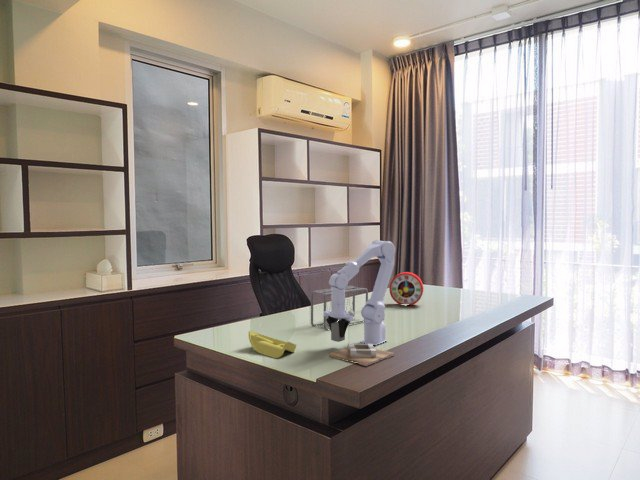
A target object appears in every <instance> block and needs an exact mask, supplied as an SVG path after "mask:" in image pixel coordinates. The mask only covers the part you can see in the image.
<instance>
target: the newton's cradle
mask: <svg viewBox="0 0 640 480" xmlns="http://www.w3.org/2000/svg"><path fill="white" fill-rule="evenodd" d="M360 291H365V302H366V301H367V300H369V290H368V288H366V287H357V286H354V285H349V286H348V285H347V287H345V294H347V297H350V295H349V294H350V293H352V303H350V300H347V302H346V304H348V303H349V304H348V305H350V304H351V305H352V308H349V310H348V309H347V308H348V306H345V314H348V315H351V316H353V317H354V318H355V315H356V313H355V311H356V292H360ZM315 294H322V295H324V296H323V312H324V311H330V312H331V308H329V310H328V309H327V304H328V302H327V297H328V296H331V288H325V289H316V290H313V291H312V292H311V294H310V324H311V326H312V327H313V326H316V325H320V326H318V328H320V327H321V329H323V330H324V331H329V330H328V329H330V327H329V326H328V327H327V324H326V323H327V321H326V319H327V318H328V316H323V322H319V323H316V324H315V323H314V295H315ZM329 304H330V306H331V302H330V303H329ZM347 310H348V311H347ZM338 320H341V319H338ZM363 321H364V319H362V321H359V320H357V321H354V322H353V321H352V322H350V323H349V324H354V323H359V322H363ZM321 324H324V325H323V326H322V325H321ZM349 324H348V325H349ZM359 324H360V323H359ZM316 327H317V326H316Z"/></svg>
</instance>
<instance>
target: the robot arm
mask: <svg viewBox="0 0 640 480" xmlns="http://www.w3.org/2000/svg"><path fill="white" fill-rule="evenodd" d="M395 253H396V246H395V245H394V243H393V242H392V241H389V240H384V241H383V240H380V239H379V240H377V239H376V240H374V241H371V243H369V244H368V246H367V248H366V249H365V250H364V251H362V253H360V255H359V256H357V258H356V259H355V260H354V261H349V262H346V263H345V265H344V266H343V267H342V268H341V269H340V270H338V271H337V272H336V273H333V274H332V275H331V276H330V278H329V280H328V284H329V286H330V289H331V291H330V292H331V295H330V297H331V299H330V303H331V305H330V311H329V310H328V311H327V310H326V311H324V310H323V315H322V317H324V316H328V318H327V319H326V321H327V323H328V324H327V325H328V328H329V327H330V330H329V331H331V323H334V322H337V321H338V319H341V320H339V321H338V324H339V329H340V337H341V338H342V337H344V336H345V337H346V332H347V330H348V329H347V328H348V327H349V326H348V324H349V323H352V322H353V321H354V319H353V316H351V315H348V314H345V311H346V293H345V291H346V289H345V287H347V286H348V284H349V282H350V281H351V280H352V279H353V278H354V277H355V276H356V275H358V273H359V272H360V268H361V267H362V266H364V265H365V264H366V263H367V262H368V261H370V260H372V258H374V257H376V258H377V259H378V260H379V262H380V266H379V270H378V273H377V276H376V279H375V282H374V285H373V289H372V293H371V295H370V298H368V300H367V301H366V300H365V304H364V305H363V307H362V309H361V311H360V312H361V313H360V314H361V316H362V317H361V318H363V320H364V327H363V329H364V330H363V331H364V332H363V335H364V336H363V340H360V341H359V343H360V342H361V343H360V344H364V343H366V344H373V345H376V346H378V345H377V344H379V345H381V344H380V343H382V344H384V343H386V342H385V341H387V342H388V340H386V330H387V328H386V327H387V326H386V325H385V322H383V321H384V320H385V318H386V317H385V311H386V306H385V304H384V300H385V296H386V293H387V290H388V286H389V283H390V279H391V277H392V273H393V270H394V268H395V267H394V266H395V262H396V260H395V255H396V254H395ZM383 342H384V343H383Z"/></svg>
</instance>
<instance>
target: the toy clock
mask: <svg viewBox="0 0 640 480" xmlns="http://www.w3.org/2000/svg"><path fill="white" fill-rule="evenodd" d="M389 283H390V285H389V288H388V289H389V294H390V297H391V298H392V300H393V301H394V302H395V303H396V304H398V305H400V304H409V305H411V306H414V305H415V304H417V303H418V302H419V301H420V299H421V298H422V296H423V295H424V294H423V293H424V284H423V281H422V279H421V278H420V277H419V275H417V274H415V273H413V272H410V271H404V272H400V273H398V274H396V275H395V276H394V277H393V279H391V281H390V282H389Z"/></svg>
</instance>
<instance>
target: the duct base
mask: <svg viewBox="0 0 640 480" xmlns="http://www.w3.org/2000/svg"><path fill="white" fill-rule="evenodd" d="M394 353H395V352H390V351H387V350H382V349H380V348H379V349H378V348H375V346H373V344H364V343H348V347H345V348H343V349H339V350H336V351H333V352H330V353H329V354H328V356H329V357H330V356H331V358H334V357H335V358H334V359H337V358H339V359H338V360H341V359H344V360H348V361H353V362H361V363H363V362H364V363H365V364H369V363H371V362H374V361H377V360H380V359H382V358H385V357H387V356H390V355H392V354H394ZM394 355H395V354H394ZM344 360H343V361H344ZM348 361H347V362H348ZM366 362H367V363H366Z"/></svg>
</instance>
